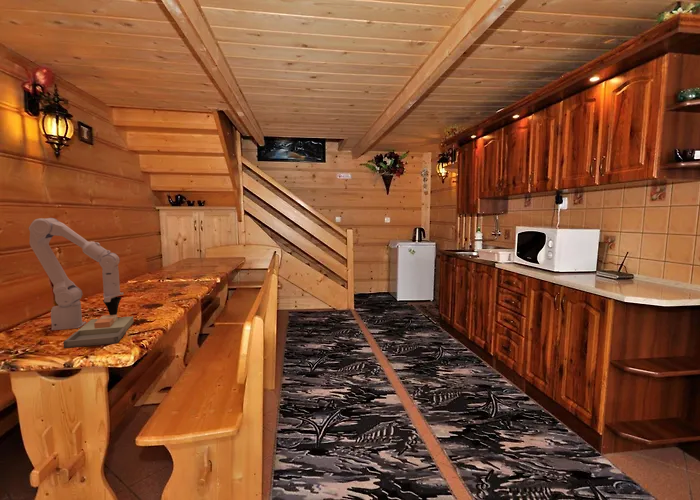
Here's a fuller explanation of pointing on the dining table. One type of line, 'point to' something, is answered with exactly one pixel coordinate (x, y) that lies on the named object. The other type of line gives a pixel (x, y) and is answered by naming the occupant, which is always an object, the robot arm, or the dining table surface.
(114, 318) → the cream tile
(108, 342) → the box
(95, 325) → the terracotta tile
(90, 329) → the beige square slab
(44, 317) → the dining table surface
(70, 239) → the robot arm
